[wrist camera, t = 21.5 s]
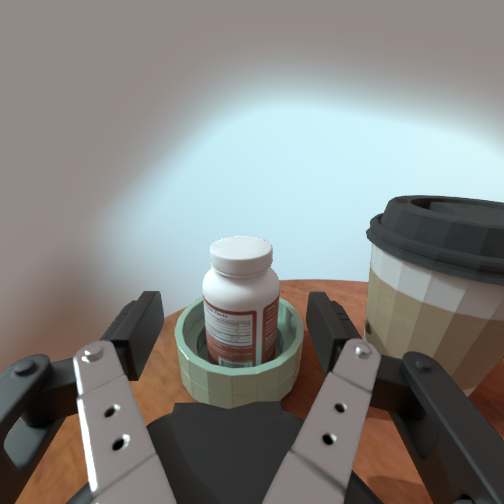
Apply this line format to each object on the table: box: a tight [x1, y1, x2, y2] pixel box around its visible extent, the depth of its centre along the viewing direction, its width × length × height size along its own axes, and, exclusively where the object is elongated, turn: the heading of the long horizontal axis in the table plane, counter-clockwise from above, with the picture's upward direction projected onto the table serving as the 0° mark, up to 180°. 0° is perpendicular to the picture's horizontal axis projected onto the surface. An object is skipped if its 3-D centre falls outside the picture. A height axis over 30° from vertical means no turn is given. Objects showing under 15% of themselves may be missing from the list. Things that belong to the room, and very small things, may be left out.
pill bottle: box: [202, 236, 280, 368], centre depth 20 cm, size 6×6×11 cm
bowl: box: [175, 297, 304, 409], centre depth 22 cm, size 11×11×4 cm
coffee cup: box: [364, 195, 504, 397], centre depth 18 cm, size 11×11×15 cm
